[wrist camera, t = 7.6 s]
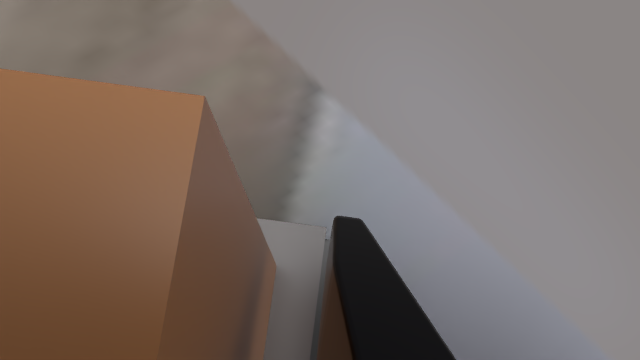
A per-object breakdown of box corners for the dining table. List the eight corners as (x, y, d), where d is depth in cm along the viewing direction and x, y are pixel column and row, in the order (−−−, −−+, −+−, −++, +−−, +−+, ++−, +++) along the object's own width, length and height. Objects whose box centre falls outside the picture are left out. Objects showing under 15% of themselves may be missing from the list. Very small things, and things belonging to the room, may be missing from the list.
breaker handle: (300, 429, 13) (317, 1005, 2) (99, 403, 13) (-896, 855, 2) (325, 229, 14) (423, -56, 3) (138, 205, 14) (-404, -169, 3)
